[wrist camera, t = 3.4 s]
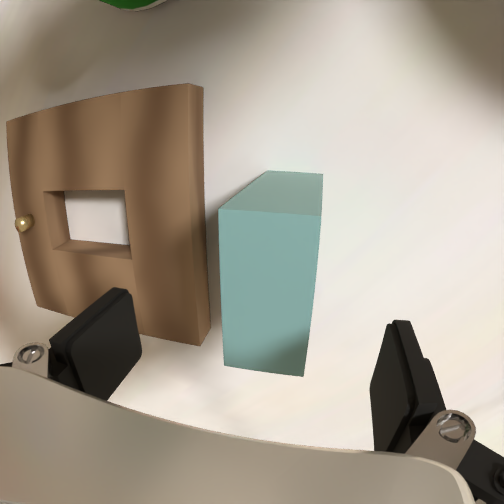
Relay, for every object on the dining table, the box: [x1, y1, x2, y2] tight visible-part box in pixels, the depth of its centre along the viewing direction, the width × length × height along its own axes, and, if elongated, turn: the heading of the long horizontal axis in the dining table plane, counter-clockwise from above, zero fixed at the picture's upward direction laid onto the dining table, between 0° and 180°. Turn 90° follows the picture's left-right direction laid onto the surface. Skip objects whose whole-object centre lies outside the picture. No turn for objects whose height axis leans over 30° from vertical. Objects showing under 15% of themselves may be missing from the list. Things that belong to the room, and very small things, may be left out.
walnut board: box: [6, 83, 211, 346], centre depth 22 cm, size 18×18×4 cm
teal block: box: [218, 171, 323, 377], centre depth 17 cm, size 4×7×10 cm, turn 0°
